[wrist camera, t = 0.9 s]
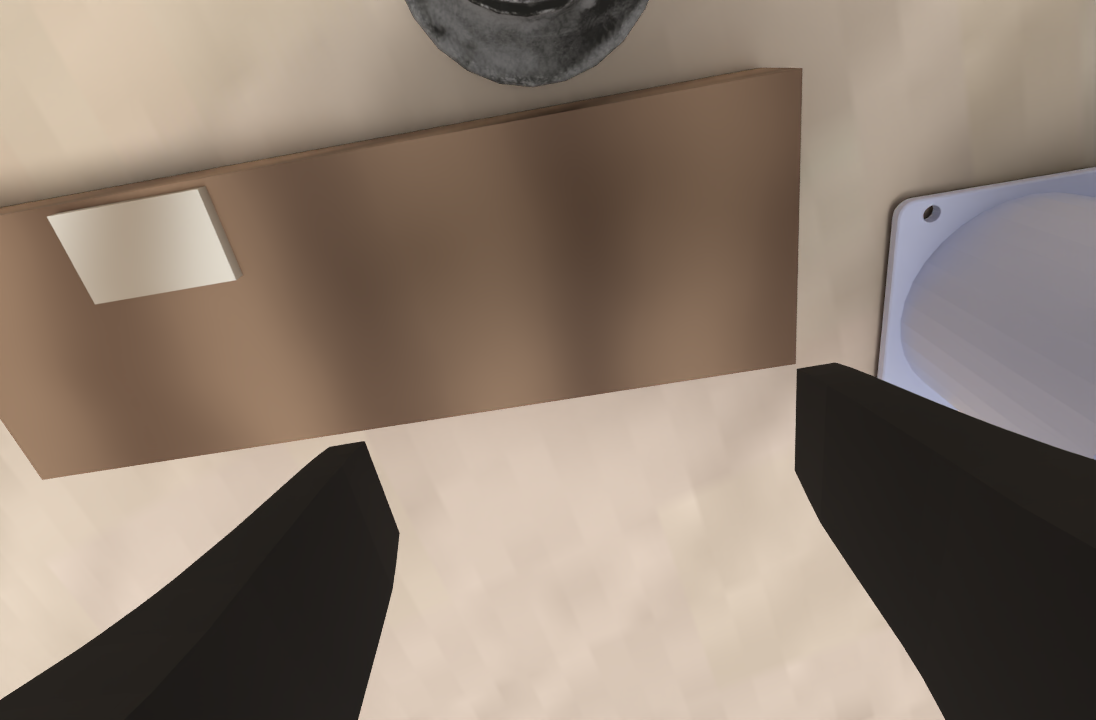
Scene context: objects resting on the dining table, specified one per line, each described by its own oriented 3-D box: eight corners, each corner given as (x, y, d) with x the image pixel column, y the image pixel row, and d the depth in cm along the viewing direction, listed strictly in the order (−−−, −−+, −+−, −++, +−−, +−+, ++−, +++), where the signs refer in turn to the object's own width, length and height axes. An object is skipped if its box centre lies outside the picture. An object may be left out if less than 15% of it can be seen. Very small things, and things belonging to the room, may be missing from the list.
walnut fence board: (759, 68, 17) (809, 68, 14) (761, 324, 20) (800, 370, 17) (-27, 212, 18) (-141, 242, 15) (103, 428, 22) (32, 487, 19)
